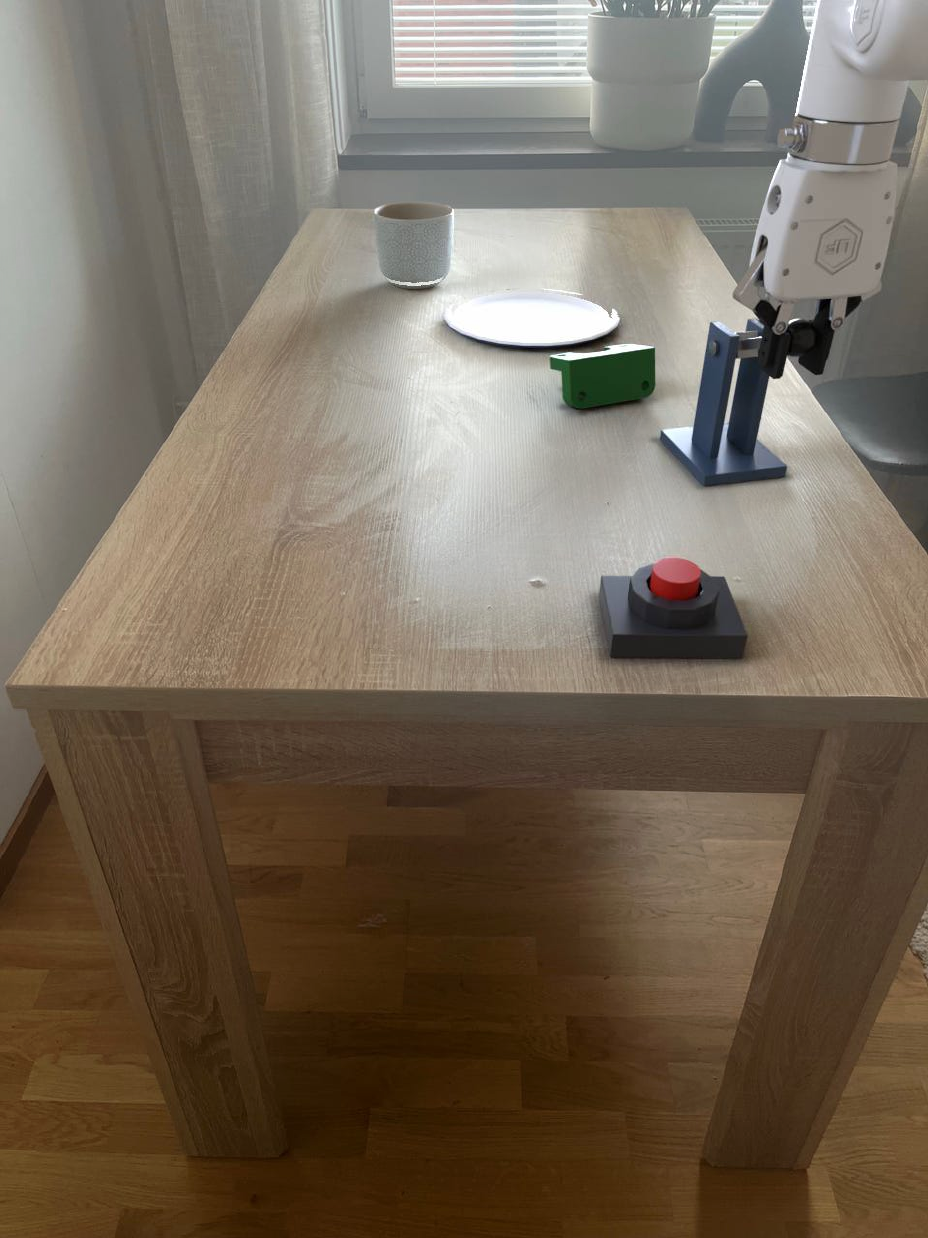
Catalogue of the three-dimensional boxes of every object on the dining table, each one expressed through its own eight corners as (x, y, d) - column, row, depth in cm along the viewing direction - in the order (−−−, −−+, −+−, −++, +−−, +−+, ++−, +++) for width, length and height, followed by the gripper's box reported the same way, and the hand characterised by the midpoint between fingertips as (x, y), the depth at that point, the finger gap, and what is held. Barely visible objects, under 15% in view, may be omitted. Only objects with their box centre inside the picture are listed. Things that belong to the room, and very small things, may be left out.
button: (692, 576, 72) (696, 557, 71) (701, 602, 69) (705, 583, 68) (646, 576, 72) (649, 556, 71) (653, 602, 69) (656, 583, 68)
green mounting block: (616, 420, 115) (639, 347, 113) (641, 427, 110) (667, 351, 107) (533, 395, 110) (557, 318, 107) (556, 401, 104) (581, 320, 102)
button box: (720, 598, 76) (728, 557, 74) (742, 658, 69) (752, 615, 67) (598, 597, 76) (603, 556, 74) (609, 657, 69) (614, 614, 67)
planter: (365, 277, 149) (361, 205, 143) (435, 268, 154) (434, 198, 147) (393, 299, 140) (390, 223, 134) (467, 288, 145) (467, 214, 138)
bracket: (785, 476, 93) (816, 342, 85) (703, 486, 92) (726, 350, 84) (735, 431, 102) (759, 306, 94) (659, 439, 100) (676, 312, 92)
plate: (409, 316, 134) (409, 307, 133) (539, 285, 146) (539, 277, 145) (520, 367, 118) (521, 357, 117) (656, 327, 130) (657, 318, 129)
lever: (824, 354, 79) (825, 315, 79) (791, 357, 79) (791, 318, 78) (748, 361, 92) (748, 328, 91) (718, 364, 91) (718, 330, 90)
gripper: (767, 156, 67) (723, 396, 78) (965, 147, 70) (896, 379, 81) (721, 137, 72) (686, 363, 83) (905, 130, 76) (849, 349, 87)
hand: (790, 369), depth 82 cm, fingers closed on lever, 3 cm apart
